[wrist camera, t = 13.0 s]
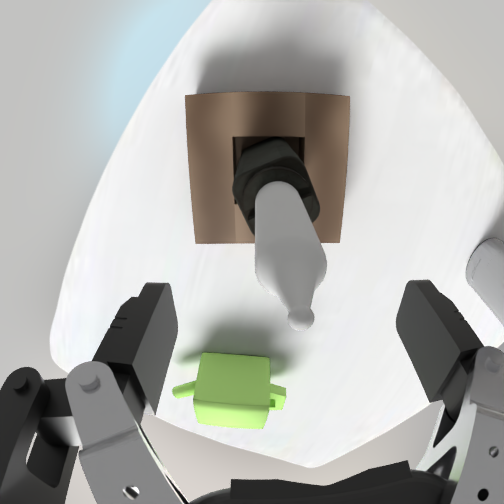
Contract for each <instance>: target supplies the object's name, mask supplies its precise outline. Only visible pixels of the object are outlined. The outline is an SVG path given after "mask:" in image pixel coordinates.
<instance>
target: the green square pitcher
mask: <svg viewBox="0 0 504 504" xmlns="http://www.w3.org/2000/svg"><path fill="white" fill-rule="evenodd" d="M172 392H173V395H174V396H175V397H176V398H183V397H187V396H191V395H194V397H193V404H194V410H195V414H196V417H197V421H198V423H200V424H206V425H213V426H221V427H231V428H247V429H263V427H264V425H265V422H266V420H267V416H268V413H269V410H282V409H283V405H284V402H285V399H286V388H284V387H281V386H277V385H274V384H271V383H270V359H269V358H266V357H256V356H245V355H233V354H220V353H202V356H201V360H200V365H199V370H198V375H197V380H196V381H193V382H189V383H186V384H183V385H180V386H176V387H174V388H173V390H172Z"/></svg>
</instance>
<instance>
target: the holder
mask: <svg viewBox="0 0 504 504" xmlns="http://www.w3.org/2000/svg"><path fill="white" fill-rule="evenodd" d="M185 108H186V129H187V147H188V162H189V176H190V189H191V201H192V212H193V223H194V233H195V242H196V244H226V243H255V236H254V235H253V234H252V232H251V231H250V229H249V227H248V225H247V223H246V220H245V218H244V216H243V214H242V212H241V210H240V208H239V206H238V204H237V202H236V200H235V198H234V196H233V193H232V185H233V181H234V178H235V174H236V171H237V167H238V164H239V160H240V157H241V153H242V151H243V150H244V149H245V148H247V147H249V146H251V145H253V144H256V143H258V142H261V141H263V140H265V139H268V138H270V137H273V136H278V137H281V138H283V139H284V140H285V141H286V142H287V143H288V145H289V146H290V147H291V148H292V150H293V151H294V152H295V153H296V154H297V156H298V157H299V158H300V159H301V161H302V162H303V163H304V165H305V167H306V169H307V172H308V175H309V177H310V180H311V182H312V185H313V188H314V190H315V193H316V195H317V198H318V201H319V204H320V213H319V216H318V218H317V219H316V220H315V221H314V222H313V223H312V224H313V227H314V229H315V231H316V234H317V236H318V238H319V241H320V243H340V235H341V227H342V217H343V208H344V197H345V186H346V173H347V158H348V140H349V115H350V96H342V95H331V94H318V93H301V92H225V93H207V94H194V95H185Z"/></svg>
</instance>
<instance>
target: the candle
mask: <svg viewBox="0 0 504 504" xmlns="http://www.w3.org/2000/svg"><path fill="white" fill-rule="evenodd" d="M232 193H233V196H234V198H235V200H236V202H237V204H238V206H239V208H240V210H241V212H242V214H243V216H244V218H245V220H246V223H247V225H248V227H249V229H250V231H251V232H252V234H253V235H254V236H255V273H256V276H257V279H258V282H259V283H260V285H261V286H262V287H263V289H265V290H266V291H267V292H268V293H270V294H272V295H274V296H276V297H278V298H279V299H280V300H281V302H282V303H283V305H284V306H285V307H286V309H287V310H288V312H289V314H288V324H289V325H290V326H291V327H292V328H293V329H295V330H299V331H303V330H306V329H308V328H309V327H310V326H311V325H312V324H313V322H314V313H313V312H312V310H311V309H310V307H311V302H312V298H313V294H314V290H316V289H317V287H318V286H319V285H320V284H321V282H322V281H323V279H324V277H325V274H326V268H327V260H326V255H325V252H324V250H323V248H322V245H321V243H320V241H319V238H318V236H317V234H316V231H315V229H314V227H313V224H312V223H313V222H314V221H315V220H316V219H317V218H318V216H319V213H320V204H319V201H318V198H317V195H316V193H315V190H314V188H313V185H312V182H311V180H310V177H309V175H308V172H307V169H306V167H305V165H304V163H303V162H302V161H301V159H300V158H299V157H298V156H297V154H296V153H295V152H294V151H293V150H292V148H291V147H290V146H289V145H288V143H287V142H286V141H285V140H284V139H283V138H281V137H278V136H273V137H270V138H268V139H265V140H263V141H261V142H258V143H256V144H253V145H251V146H249V147H247V148H245V149H244V150H243V151H242V153H241V157H240V160H239V164H238V167H237V171H236V174H235V178H234V181H233V185H232Z"/></svg>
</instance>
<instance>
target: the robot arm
mask: <svg viewBox="0 0 504 504" xmlns="http://www.w3.org/2000/svg"><path fill="white" fill-rule="evenodd" d="M466 279H467V282H468V284H469V285H470V286H471V287H472V288H473V289H474V291H475V292H476V293H477V294H478V295H479V296H480V298H481V299H482V300H483V301H484V302H485V304H486V305H487V306H488V307H489V308H490V310H491V311H492V312H493V313H494V315H495V316H496V317H497V318H498V320H499V321H500V322H501V323H502V325H503V326H504V243H503V242H502V241H500V240H499V239H497V238H492V239H488V240H486V241H484V242H483V243H482V244H481V245H480V246H479V247H478V248H477V249H476V250H475V252H474V253H473V254H472V256H471V258H470V260H469V263H468V266H467V270H466ZM458 311H459V310H458V309H457V307H456V306H455V305H454V303H453V302H452V301H451V300H450V299H448V298H447V297H446V296H444V295H443V294H442V293H440V292H439V291H438V290H437V288H436V287H435V286H434V285H433V283H432V282H431V281H430V280H411V281H409V282H408V283H407V285H406V287H405V291H404V294H403V298H402V301H401V304H400V307H399V311H398V314H397V318H396V328H397V332H398V334H399V336H400V338H401V340H402V342H403V344H404V347H405V349H406V351H407V353H408V355H409V357H410V359H411V361H412V364H413V366H414V368H415V370H416V372H417V375H418V377H419V379H420V381H421V384H422V386H423V388H424V390H425V393H426V395H427V398H428V400H429V402H430V403H431V402H434V401H438V400H443V402H444V405H443V406H442V407H441V410H440V412H439V415H438V419H437V422H436V425H435V428H434V431H433V434H432V437H431V439H430V443H429V445H428V448H427V450H426V453H425V455H424V457H423V458H422V460H421V461H420V463H419V464H418V466H417V467H416V469H415V470H412V469H410V467H409V464H408V461H407V460H406V461H402V462H399V463H394V464H390V465H386V466H382V467H377V468H372V469H368V470H366V471H363V472H361V473H359V474H356V475H354V476H352V477H349V478H347V479H344V480H342V481H339V482H336V483H334V484H331V485H327V486H320V485H311V484H303V483H297V482H291V481H284V480H278V479H272V480H241V479H231V488H228V489H222V490H219V491H215V492H211V493H209V494H206V495H204V496H201V497H199V498H197V499H195V500H193V501H191V502H190V503H189V501H188V500H187V498H186V497H185V496H184V494H183V493H182V491H181V490H180V488H179V487H178V486H177V484H176V483H175V481H174V480H173V478H172V477H171V475H170V474H169V472H168V471H167V470H166V468H165V466H164V465H163V463H162V461H161V460H160V458H159V456H158V455H157V453H156V451H155V450H154V448H153V447H152V444H151V442H150V441H149V439H148V437H147V435H146V433H145V432H144V430H143V428H142V426H141V421H142V417H143V414H149V415H156V411H157V407H158V403H159V399H160V396H161V392H162V388H163V384H164V381H165V377H166V373H167V370H168V366H169V363H170V359H171V356H172V352H173V349H174V345H175V342H176V338H177V333H178V322H177V316H176V311H175V306H174V301H173V296H172V290H171V286H170V284H169V283H146V284H145V285H144V287H143V289H142V291H141V293H140V294H139V296H138V297H131V298H130V299H129V300H128V301H126V302H125V303H124V304H123V305H122V306H121V307H120V309H119V310H118V312H117V314H116V316H115V319H113V321H112V323H111V325H110V328H109V329H108V331H107V332H106V334H105V336H104V338H103V340H102V342H101V344H100V346H99V348H98V350H97V352H96V353H95V355H94V357H93V359H92V361H90V362H85V363H82V364H80V365H78V366H77V367H75V368H74V369H73V370H72V371H71V372H70V373H69V375H68V376H67V378H63V379H51V380H43V379H42V377H41V375H40V374H39V373H38V371H37V370H36V369H34V368H30V367H23V368H19V369H17V370H15V371H14V372H12V373H11V374H10V375H9V376H8V377H7V379H6V381H5V382H4V384H3V386H2V388H1V390H0V504H65V500H66V495H67V491H68V487H69V483H70V479H71V475H72V471H73V467H74V463H75V460H76V456H77V453H78V449H79V446H82V447H83V450H80V451H79V459H80V463H81V466H82V469H83V471H84V474H85V476H86V479H87V481H88V484H89V486H90V488H91V491H92V493H93V495H94V498H95V500H96V502H97V504H504V353H503V352H502V351H501V350H499V349H497V348H495V347H491V346H485V347H484V346H483V344H482V343H481V341H480V340H479V338H478V337H477V335H476V334H475V332H474V331H473V330H472V328H471V327H470V325H469V324H468V322H467V321H466V320H464V317H463V316H462V314H461V313H460V312H458ZM35 432H36V433H37V436H36V439H35V442H34V445H33V447H32V450H31V453H30V456H29V459H28V462H27V465H26V456H27V453H28V450H29V447H30V444H31V442H32V439H33V436H34V434H35Z"/></svg>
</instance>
